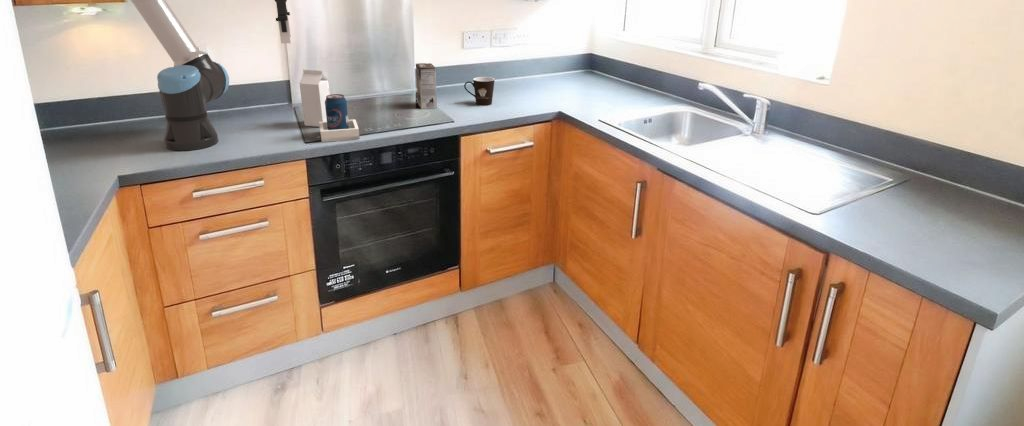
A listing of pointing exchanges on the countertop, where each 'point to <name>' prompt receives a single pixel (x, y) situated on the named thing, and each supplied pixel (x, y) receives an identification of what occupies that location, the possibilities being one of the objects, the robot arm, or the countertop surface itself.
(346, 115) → the soda can
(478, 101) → the coffee mug
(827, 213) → the countertop surface
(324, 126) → the bin
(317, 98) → the milk carton
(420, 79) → the coffee box
